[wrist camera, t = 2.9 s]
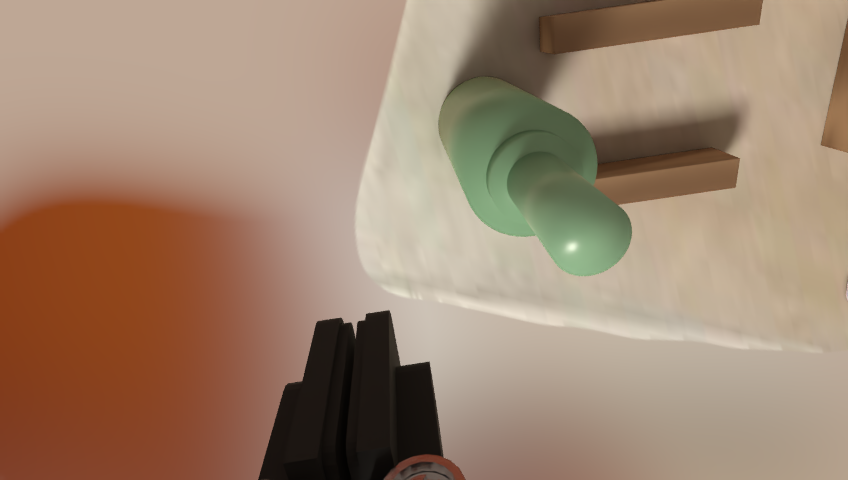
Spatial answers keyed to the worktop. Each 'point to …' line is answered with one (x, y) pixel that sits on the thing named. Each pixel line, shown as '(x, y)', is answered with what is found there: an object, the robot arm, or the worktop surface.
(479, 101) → the bottle
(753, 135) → the worktop surface
